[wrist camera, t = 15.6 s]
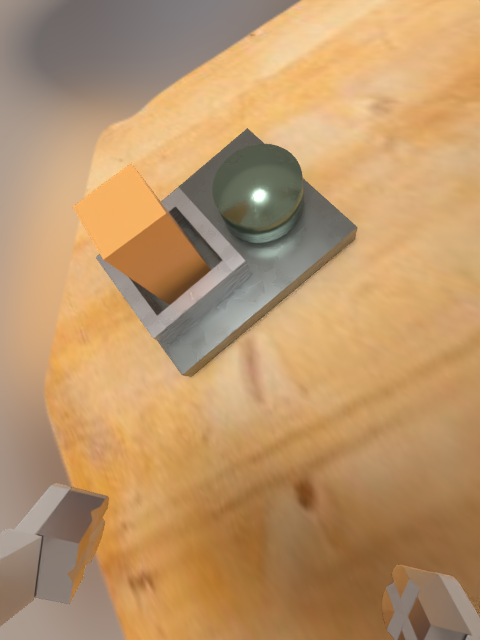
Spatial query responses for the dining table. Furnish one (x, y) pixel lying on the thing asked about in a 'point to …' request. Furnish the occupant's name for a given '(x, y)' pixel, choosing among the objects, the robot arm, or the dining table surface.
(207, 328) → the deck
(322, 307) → the dining table surface
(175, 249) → the tall orange prism
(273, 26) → the dining table surface
